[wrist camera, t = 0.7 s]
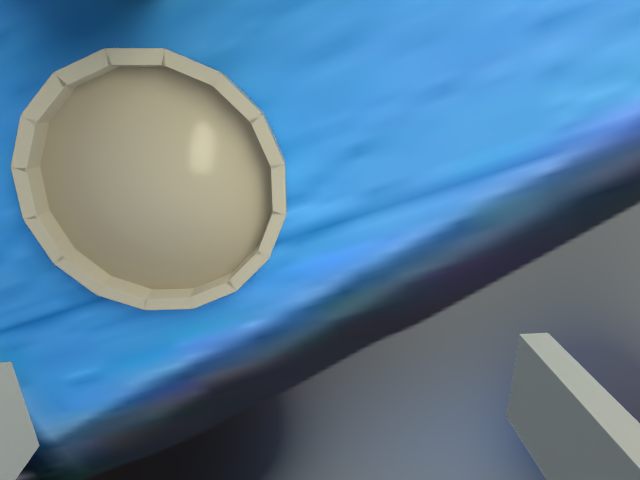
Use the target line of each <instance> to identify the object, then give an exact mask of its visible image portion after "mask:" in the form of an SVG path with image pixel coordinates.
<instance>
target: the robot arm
mask: <svg viewBox="0 0 640 480" xmlns="http://www.w3.org/2000/svg"><path fill="white" fill-rule="evenodd" d="M507 418H508V420H509V421H510V423H511V425H512V426H513V428H514V429H515V431H516V432H517V434H518V436H519V437H520V439H521V440H522V442H523V443H524V445H525V447H526V448H527V450H528V451H529V453H530V455H531V456H532V457H533V459H534V461H535V462H536V464H537V466H538V467H539V469H540V470H541V472H542V473H543V475H544V477H545V478H546V480H640V423H639V422H637V420H635V419H634V418H633V417H632V416H631V415H630V414H629V413H628V412H627V411H626V410H625V409H624V408H623V407H622V406H621V405H620V404H619V403H618V402H617V401H616V400H615V399H614V398H613V397H612V396H611V395H610V394H609V393H608V392H607V391H606V390H605V389H604V388H603V387H602V386H601V385H600V384H599V383H598V382H597V381H596V380H595V379H594V378H593V377H592V376H591V375H590V374H589V373H588V372H587V371H586V370H585V369H584V368H583V367H582V366H581V365H580V364H579V363H578V362H577V361H576V360H575V359H574V358H573V357H572V356H571V355H570V354H569V353H568V352H567V351H566V350H565V349H564V348H562V346H560V344H558V343H557V342H556V341H555V340H554V339H553V338H552V337H551V336H550V335H549V334H548V333H536V334H520V336H519V342H518V348H517V354H516V360H515V366H514V372H513V379H512V385H511V391H510V397H509V404H508V410H507ZM38 447H39V443H38V440H37V437H36V434H35V431H34V428H33V425H32V422H31V419H30V416H29V413H28V410H27V407H26V404H25V401H24V398H23V395H22V392H21V389H20V386H19V383H18V380H17V377H16V374H15V371H14V368H13V365H12V362H0V480H16V478H17V477H18V475H19V474H20V472H21V471H22V470H23V468H24V467H25V465H26V464H27V463H28V461H29V460H30V458H31V457H32V455H33V454H34V453H35V451H36V450H37V448H38Z"/></svg>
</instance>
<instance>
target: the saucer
mask: <svg viewBox="0 0 640 480" xmlns="http://www.w3.org/2000/svg"><path fill="white" fill-rule="evenodd" d="M263 113H264V112H263V111H262V110H261V109H260V108H259V107H258V106H257V105H256V104H255V103H254V102H253V101H252V100H251V99H250V98H249V97H248V96H247V94H246V93H245V92H243V91H242V90H241V89H240V88H239V87H238V86H237V85H235V84H234V83H233V82H232V81H231V80H230V79H229V78H228V77H227V76H226V75H225V74H224V73H222V72H220V71H217V70H215V69H213V68H210V67H208V66H206V65H203V64H201V63H199V62H196V61H194V60H192V59H189V58H187V57H185V56H182V55H180V54H178V53H175V52H173V51H170V50H167V49H164V48H104V49H102V50H100V51H97V52H95V53H93V54H91V55H89V56H87V57H85V58H83V59H80V60H78V61H76V62H74V63H72V64H70V65H68V66H66V67H63V68H61V69H59V70H57V71H55V72H54V73H53V74H52V75H51V76H50V77H49V79H48V80H47V81H46V83H45V84H44V85H43V87H42V88H41V89H40V90H39V92H38V93H37V94H36V96H35V97H34V98H33V100H32V101H31V102H30V103H29V105H28V106H27V107H26V109H25V110H24V111H23V113H22V114H21V116H20V121H19V126H18V132H17V137H16V142H15V148H14V153H13V158H12V163H11V167H13V168H11V170H12V175H13V179H14V183H15V187H16V191H17V196H18V200H19V204H20V208H21V212H22V216H23V219H25V220H24V221H25V223H26V224H27V226H28V227H29V229H30V230H31V232H32V233H33V234H34V236H35V237H36V239H37V240H38V242H39V243H40V245H41V246H42V247H43V249H44V250H45V252H46V253H47V255H48V256H49V258H50V259H51V260H52V262H53V263H55V265H56V266H57V267H59V268H60V269H62V270H63V271H64V272H66V273H67V274H68V275H70V276H71V277H73V278H74V279H75V280H77V281H78V282H79V283H81V284H82V285H84V286H85V287H86V288H88V289H89V290H90V291H92V292H93V293H94V294H97V295H98V296H101V297H105V298H108V299H111V300H114V301H117V302H120V303H124V304H127V305H130V306H133V307H136V308H139V309H143V310H169V309H193V308H196V307H199V306H201V305H204V304H206V303H209V302H211V301H214V300H216V299H218V298H221V297H223V296H226V295H228V294H231V293H233V292H235V291H237V290H238V289H239V288H240V287H241V286H242V285H243V284H244V283H245V282H246V281H247V280H248V279H249V278H250V277H251V276H252V275H253V274H254V273H255V272H256V271H257V270H258V269H259V268H260V267H261V266H262V265H263V264H264V263H265V262H266V261H267V260H268V259H269V257H270V255H271V252H272V250H273V247H274V245H275V242H276V240H277V237H278V235H279V232H280V230H281V227H282V225H283V222H284V220H285V217H286V212H287V202H286V167H285V159H284V157H283V154H282V152H281V150H280V148H279V145H278V142H277V139H276V137H275V135H274V133H273V131H272V129H271V127H270V125H269V123H268V121H267V118H266V116H265V114H263Z"/></svg>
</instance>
